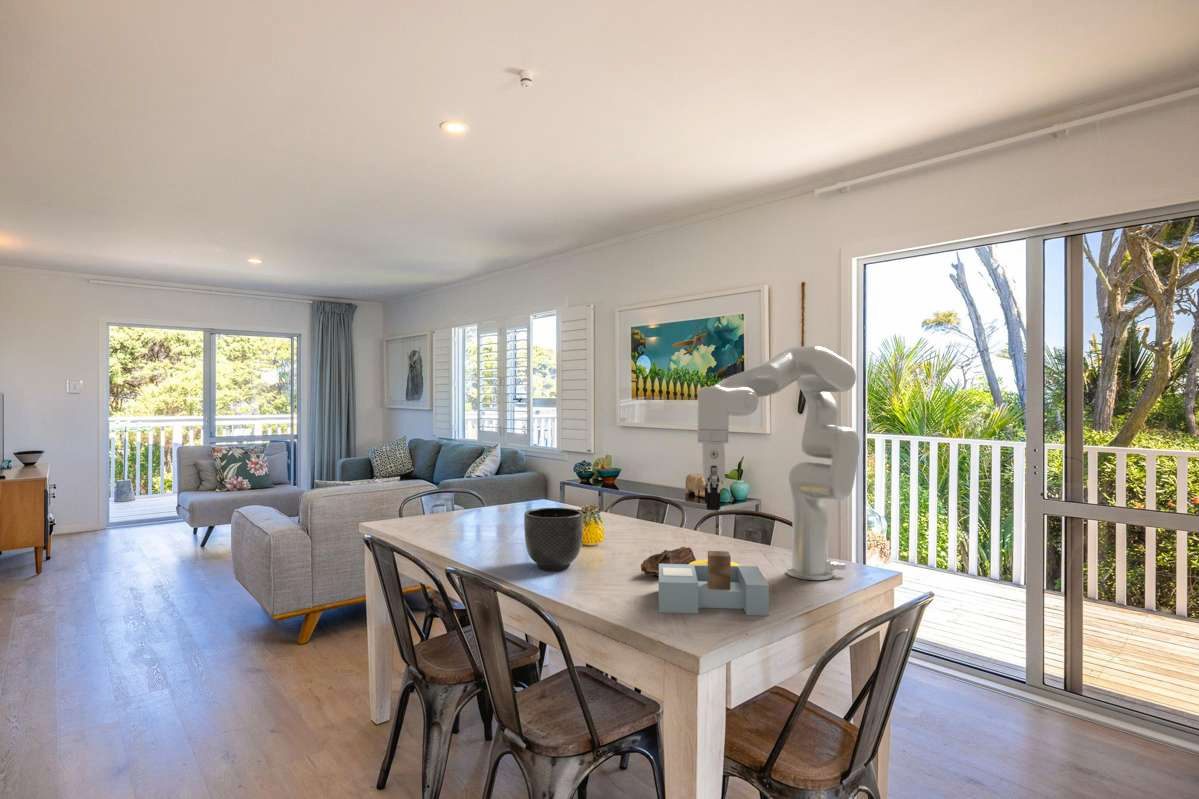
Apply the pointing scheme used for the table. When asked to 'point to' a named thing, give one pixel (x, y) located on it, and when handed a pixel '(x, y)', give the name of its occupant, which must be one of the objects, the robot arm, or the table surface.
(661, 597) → the slot box
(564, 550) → the planter
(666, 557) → the driftwood
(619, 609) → the table surface
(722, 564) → the walnut block
